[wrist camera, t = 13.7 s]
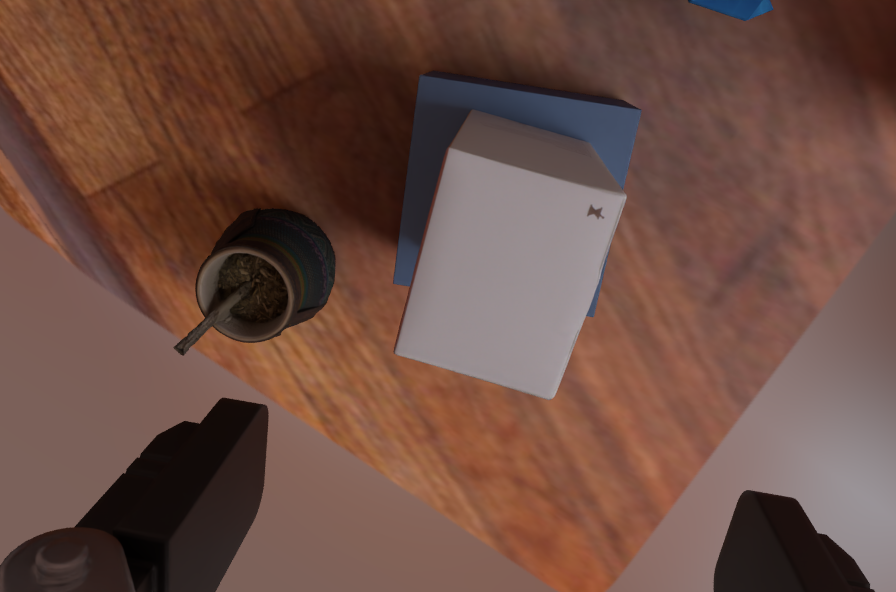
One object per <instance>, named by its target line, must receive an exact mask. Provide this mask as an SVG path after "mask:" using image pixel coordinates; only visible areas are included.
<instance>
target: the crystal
mask: <svg viewBox="0 0 896 592" xmlns="http://www.w3.org/2000/svg"><path fill="white" fill-rule="evenodd" d="M688 2H689V3H692V4H695V5H698V6H701V7H704V8H707V9H710V10H713V11H716V12H719V13H722V14H725V15H728V16H731V17H734V18H738V19H741V20H744V21H746V20H749V19H751V18H754V17H756V16H759V15H761V14H764V13H766V12H768V11H771V10H773V7H772V4H771V2H770V0H688Z"/></svg>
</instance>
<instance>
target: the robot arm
mask: <svg viewBox="0 0 896 592" xmlns="http://www.w3.org/2000/svg"><path fill="white" fill-rule="evenodd" d="M267 432H268V408H267V406H266V405H263V404H257V403H252V402H246V401H240V400H234V399H229V398H221V399H220V400H219V401H218V402H217V403H216V405H215V406H214V407H213V408H212V409H211V411H210V412H209V413H208V414H207V416H206V417H205V418H204V419H203V420H202V422H201V423H200V424H199V423H192V422H188V421H184V422H182V423H179V424H178V425H176V426H174V427H172V428H170V429H168V430H166V431H164V432H162V433H160V434H159V435H157V436H156V437H155V438H154V440H153V441H152V442H151V443H150V444H149V445H148V446H147V447H146V449H144V451H143V452H142V453H141V455H140V458H136V459H135V461H134V462H133V463H132V464H131V465H130V466H129V467H128V468H127V471H126V473H125V474H124V473H123V474H122V475H121V476H120V477H119V478H118V479H117V481H116V482H115V483H114V484H113V485H112V486H111V487H110V488H109V489H108V490H107V492H106V493H105V494H104V495H103V496H102V497H101V498H100V499H99V500H98V502H97V503H96V504H95V505H94V506H93V507H92V508H91V509H90V510H89V512H88V513H87V514H86V515H85V516H84V517H83V518H82V519H81V520H80V522H79V523H78V524H77V525H76V526H75V527H74V528H64V529H58V530H54V531H50V532H46V533H44V534H41V535H39V536H36V537H34V538H32V539H30V540H28V541H26V542H24V543H23V544H21V545H20V546H18V547H17V548H16V549H15V550H13V551H12V552H11V553H10V554H9V555H8V556H7V557H6V558H5V559H4V561H3V563H2V564H1V565H0V592H215V591H216V590H217V588H218V586H219V584H220V582H221V580H222V578H223V577H224V575H225V573H226V571H227V569H228V567H229V565H230V564H231V562H232V560H233V558H234V556H235V555H236V552H237V551H238V549H239V547H240V545H241V543H242V542H243V539H244V538H245V536H246V534H247V532H248V530H249V529H250V526H251V525H252V523H253V521H254V519H255V517H256V514H257V512H258V509H259V505H260V502H261V498H262V493H263V487H264V476H265V461H266V447H267ZM714 592H875V591H874V590H873V589H870V584H869V582H868V580H867V579H866V577H865V576H864V574H863V573H862V571H861V570H860V568H859V567H858V565H857V564H856V562H855V560H854V559H853V558H852V557H851V556H850V555H848V554H847V553H846V552H845V551H844V550H843V549H842V548H841V547H839V546H838V545H837V544H836V543H835V542H834V541H833V540H831V539H830V538H829V537H828V536H827V535H825V534H819V533H817V531H816V530H815V528H814V527H813V525H812V523H811V522H810V520H809V518H808V517H807V515H806V513H805V512H804V510H803V509H802V507H801V505H800V504H799V502H798V501H797V500H796V499H794V498H791V497H785V496H779V495H773V494H768V493H762V492H756V491H751V490H746V491H744V492H743V493H742V495H741V496H740V498H739V500H738V502H737V505H736V508H735V511H734V514H733V517H732V520H731V523H730V526H729V529H728V531H727V535H726V537H725V540H724V543H723V546H722V549H721V552H720V555H719V558H718V561H717V564H716V568H715V573H714Z"/></svg>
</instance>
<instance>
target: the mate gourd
mask: <svg viewBox="0 0 896 592" xmlns="http://www.w3.org/2000/svg"><path fill="white" fill-rule="evenodd" d="M334 278H335V255H334V251H333V248H332V246H331V242H330V240H329V239H328V238H327V236H326V234H325V233H324V232H323V231H322V230H321V228H320V227H319V226H317V224H316V223H315V222H313V221H312V220H311V219H309V218H308V217H306V216H305V215H303V214H300V213H297V212H293V211H289V210H286V209H273V208H272V209H263V210H261V208H260V209H257V208H256V209H253V210H249V211H245V212H243V213H242V214H240V216H239V217H238V218H237V219H236V220H235V221H234V222H233V223H232V224H231V225H230V226H229V227H228V228H227V229H226V230H225V231H224V233H223V234H222V236H221V238H220V239H219V240H218V241H217V242H216V245H215V247H214V248H213V250H212V252H211V255H210V256H208V257H207V259H206V260H205V261H204V262H203V264H202V265H201V267H200V270H199V272H198V275H197V279H196V288H195V289H196V290H195V291H196V298H197V302H198V305H199V308H200V310H201V312H202V314H203V315H204V317H205V319H204V321H202V322H201V323H200V324H199V325H198V326H197V327H196V328H195V329H193V330H192V331H191V332H189V333H188V336H187V337H185V338H183V339H182V340H181V341H180V342H179V343H178V344H177V345H176V346H175V347H174V349H175V350H177V351H178V353H180V354H181V355H184V354H185V353H186V352H187V351H188V350H189V348H190V347H191V346H192V345H193V344H195V343H196V342H197V341H198V340H199V338H200V337H201V336H202V335H203V334H204V333H205V332H206V331H207V330H208V329H209V328H210V327H212V326H213V327H214V328H215V329H216V330H217V331H219V332H220V333H222V334H223V335H225V336H227V337H229V338H231V339H233V340H236V341H240V342H246V343H255V342H262V341H266V340H269V339H272V338H274V337H277V336H280V335H281V332H282V331H283V330H284V329H286V328H288V327H291V326H294V325H297V324H299V323H301V322H304V321H306V320H308V319H311V318H313V317H314V315H315V314H316V313H317V312H318V311H319V310H321V309H322V308H323V307H324V306H325V305H326V303H327V300H328V297H329V295H330V292H331V289H332V287H333V284H334Z"/></svg>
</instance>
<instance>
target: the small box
mask: <svg viewBox="0 0 896 592" xmlns="http://www.w3.org/2000/svg"><path fill="white" fill-rule="evenodd" d="M625 201H626V194H625V193H624V191H623V190H622V189H621V187H620V186H619V184H618V183H617V181H616V180H615V179H614V177H613V176H612V174H611V173H610V171H609V170H608V168H607V167H606V166H605V164H604V163H603V161H602V160H601V158H600V157H599V155H598V154H597V153H596V151H595V150H594V148H593V147H592V145H591V144H590V143H589V142H585V141H581V140H578V139H574V138H571V137H568V136H564V135H561V134H557V133H554V132H550V131H547V130H543V129H540V128H536V127H533V126H529V125H526V124H522V123H519V122H515V121H512V120H508V119H505V118H502V117H498V116H495V115H491V114H488V113H484V112H481V111H477V110H471V111H470V112H469V114H468V116H467V118H466V120H465V121H464V123H463V124H462V126H461V127H460V129H459V131H458V133H457V134H456V136H455V138H454V139H453V141H452V142H451V144H450V145H449V146H448V148H447V150H446V153H445V156H444V159H443V162H442V166H441V170H440V173H439V177H438V181H437V185H436V189H435V193H434V196H433V200H432V204H431V207H430V211H429V215H428V219H427V223H426V226H425V230H424V234H423V238H422V242H421V246H420V250H419V253H418V257H417V261H416V265H415V268H414V272H413V276H412V280H411V284H410V288H409V292H408V296H407V300H406V304H405V308H404V311H403V315H402V319H401V323H400V327H399V331H398V335H397V339H396V343H395V347H394V354H396V355H399V356H402V357H406V358H410V359H413V360H416V361H420V362H423V363H427V364H431V365H434V366H438V367H441V368H444V369H448V370H451V371H454V372H457V373H461V374H464V375H468V376H471V377H474V378H478V379H481V380H484V381H488V382H491V383H494V384H498V385H501V386H504V387H508V388H511V389H514V390H518V391H521V392H524V393H527V394H531V395H534V396H537V397H541V398H544V399H547V400H551V399H552V398H553V397H554V396H555V394H556V392H557V389H558V387H559V384H560V382H561V379H562V377H563V374H564V371H565V369H566V366H567V364H568V361H569V358H570V356H571V353H572V350H573V348H574V345H575V342H576V340H577V337H578V335H579V332H580V329H581V327H582V324H583V321H584V319H585V317H586V315H587V312H588V310H589V308H590V305H591V302H592V300H593V297H594V293H595V290H596V288H597V285H598V283H599V279H600V276H601V271H602V268H603V264H604V261H605V258H606V256H607V253H608V250H609V247H610V244H611V241H612V238H613V236H614V233H615V230H616V227H617V224H618V221H619V218H620V215H621V212H622V209H623V207H624V204H625Z"/></svg>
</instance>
